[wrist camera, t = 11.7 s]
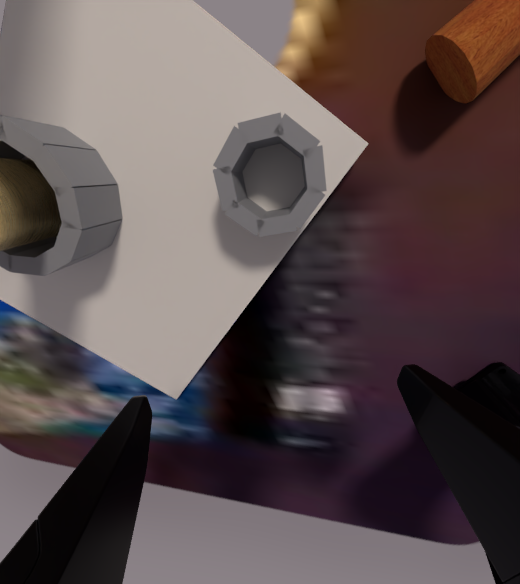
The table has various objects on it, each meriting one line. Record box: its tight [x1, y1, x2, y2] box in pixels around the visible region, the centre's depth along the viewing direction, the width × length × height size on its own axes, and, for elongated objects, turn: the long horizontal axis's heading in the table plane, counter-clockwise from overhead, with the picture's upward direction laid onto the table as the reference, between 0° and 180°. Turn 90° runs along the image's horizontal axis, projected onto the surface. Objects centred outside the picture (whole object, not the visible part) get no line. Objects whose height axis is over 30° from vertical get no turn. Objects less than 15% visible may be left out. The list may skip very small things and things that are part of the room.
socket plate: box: [0, 0, 368, 400], centre depth 16 cm, size 18×22×5 cm
